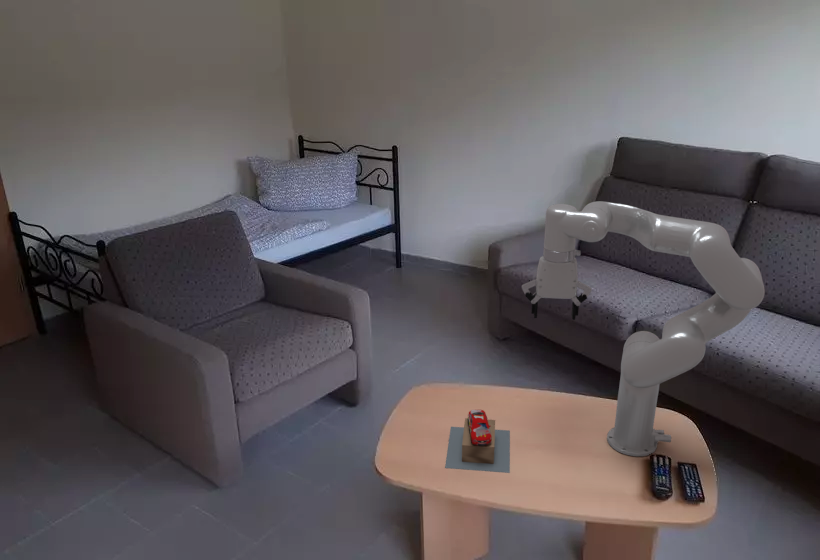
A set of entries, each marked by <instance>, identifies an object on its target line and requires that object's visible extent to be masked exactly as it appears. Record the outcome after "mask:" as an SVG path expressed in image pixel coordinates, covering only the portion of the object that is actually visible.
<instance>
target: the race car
mask: <svg viewBox="0 0 820 560" xmlns="http://www.w3.org/2000/svg"><path fill="white" fill-rule="evenodd" d="M467 418H468V427H469V433H470V438H471V443H473V444H475V445H479V446H484V445H488V444H490V443H491V441H492V436H491V432H490V428H489V427H491V426H490V425H489V424H488V420H489V419H488V415H487V414H486V411H485V410H484V409H471V410H469V411H468V413H467Z"/></svg>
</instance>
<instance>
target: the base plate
mask: <svg viewBox="0 0 820 560" xmlns="http://www.w3.org/2000/svg"><path fill="white" fill-rule="evenodd" d="M463 432H464V426H462V427H460V426H450V431H449V435H448V436H449V437H448V444H447V451H446V452H447V453H446V459H445V465H444V469H454V470H466V471H479V472H493V473H506V474H507V473H508V474H510V473H511V464H510V463H511V435H510V434H511V432H510V429H509V430H506V429H495V444H494V464H487V463H473V462H462V442H463Z"/></svg>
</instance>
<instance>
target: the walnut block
mask: <svg viewBox="0 0 820 560" xmlns="http://www.w3.org/2000/svg"><path fill="white" fill-rule="evenodd" d="M488 424H489V425H490V426H491V427H489V428H490V432H491V436H492V441H491V443H490V444H488V445H484V446H479V445H475V444H473V443H471V438H470V433H469V427H468V417H465V418H464V426H463V427H464V432H463V442H462V462H473V463H487V464H494V444H495V430H496V419H488Z"/></svg>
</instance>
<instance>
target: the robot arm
mask: <svg viewBox="0 0 820 560" xmlns="http://www.w3.org/2000/svg"><path fill="white" fill-rule="evenodd" d="M608 232H610V233H616V234H621V235H625V236H627V237H630V238H632V239H634V240H636V241H638V242H639V243H640V244H641V245H642V246H643V247H645V248H646V249H648V250H650V251H652V252H656V253H657V252H658V253H664V254H668V255H669V254H670V255H677V256H680V257H681V256H683V257H688V258H690V260H691V261H692V264H693V265H694V267H695V268H696V269H697V271H698V272H699V273H700V275H701V276H702V277H703V279H704V280H705V281H706V282H707V283H708V284H709V286H710V287H711V288H712V289H713V290H714V292H715V293H714V294H713V295H712V296H710V297H709V298H708V299H705V300H704V301H703V302H701V303H699V304H697V305H695V306H693V307H691V308H689V309H688V310H685V311H683V312H681V313H680V314H677V315H675V316H673V317H671V318H670V319H669V320H667V321H666V322H665V324H664V325H663V326H662V327H663V328H662V334H661V338H659V336H657V334H655V333H652V332H651V331H647V330H640V331H639V330H638V331H636V332H634V333H632V334H631V335H629V336H628V337H627V339H626V341H625V342H624V345H623V351H622V356H621V361H620V380H619V386H618V387H619V388H618V392H617V393H618V394H617V402H616V410H615V411H616V412H615V420H614V427H612V428H611V429H609V431H607V435H606V441H607V443H608V445H609V446H610V447H611V448H612V449H613V450H615V451H617V452H619V453H621V454H622V455H626V456H632V457H646V456H649V454H650V455H651V453H652V454H654V453H655V451H656V450H657V446H658V443H659V442H664V443H671V442H672V435H671V434H667V433H665V430H664V429H655V428H654V423H655V418H656V410H657V404H658V403H657V402H658V398H659V397H658V396H659V392H660V384H662V383H664V382H667V381H668V380H671V379H673V378H675V377H677V376H679V375H682V374H684V373H686V372H688V371H690V370H692V369H693V368H695V367H696V366H697V365H699V364H700V362H702V360H703V358H704V356H705V354H706V345H707V343H708V342H710V341H711V340H714V339H715V338H717V337H719V336H721V335H723V334H724V333H727V332H730V331H731V330H732V329H734V328H735V327H737V326H738V325H739V324H740V323H742V322H743V321H744V319H746V317H747V316H748V315H749V313H750V312H751V311H752V309H755V308H757V307H759V305H760V304H761V303H762V301H763V300H764V297H765V292H766V291H765V285H764V281H763V277H762V273H761V270H760V268H759V266H758V264H756V263H755V262H754V261H753V260H751V259H748V258H746V257H741V256H740V255H739V254H738V253H737V252H736V250H735V249H734V248H733V246H732V244H731V239H730V235H729V233H728V231H727V230H726V228H724V227H723V226H722V225H720V224H718V223H714V222H709V221H704V220H695V219H690V218H683V217H676V216H670V215H669V216H668V215H663V214H657V213H654V212H651V211H650V210H649V211H648V210H645V209H642V208H639V207H636V206H632V205H628V204H623V203H616V202H611V201H610V202H609V201H602V200H601V201H599V200H598V201H592V202H589V203H588V204H586V205H585V206H584V207H583V208H582V210H581V211H579V210H578V209H577V208H576V207H575V206H574V205H572V204H571V205H570V204H566V203H555V204H552V205H549V206H548V208H546V211H545V224H544V240H543V252H542V253H543V254H542V256H540V258H539V260H538V265H537V269H536V270H537V271H536V278H534V279H531V281H528V282H526V283H523V284H522V285H521V290H522V292H523V293H524V295H525V298H526V299H527V300H528V301H530V303H531V311H530V313H531V314H533V319H537V318H538V310H539V309H538V308H539V305H538V303H539V300H540V299H542V298H543V299H560V300H561V299H562V300H564V299H569V300H571V301H572V304H571V314H570V315H571V320H573V321H576V317H577V316H579V311H580V310H579V309H580V308H579V307H580V306H581V304H582V303H583V302H584V301H586V300H588V297H589V295H590V294H591V292H592V287H591V286H589V285H587V284H585V283H584V282H581V281H579V280H578V261H577V258H576V257H579V256H581V254H582V253H581V250H578V249H576V241H577V240H580V241H582V242H587V243H596V242H599V241H601V240H603V239H604V238H605V237H606V235H608ZM533 287H535V292H534V293H533V294H532V292H531V291H530V290H529V289H531V288H533ZM578 289H580V290H582V291H583V292H582V293H581V294H580V295H579V296H578V295H577V294H578Z"/></svg>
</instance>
